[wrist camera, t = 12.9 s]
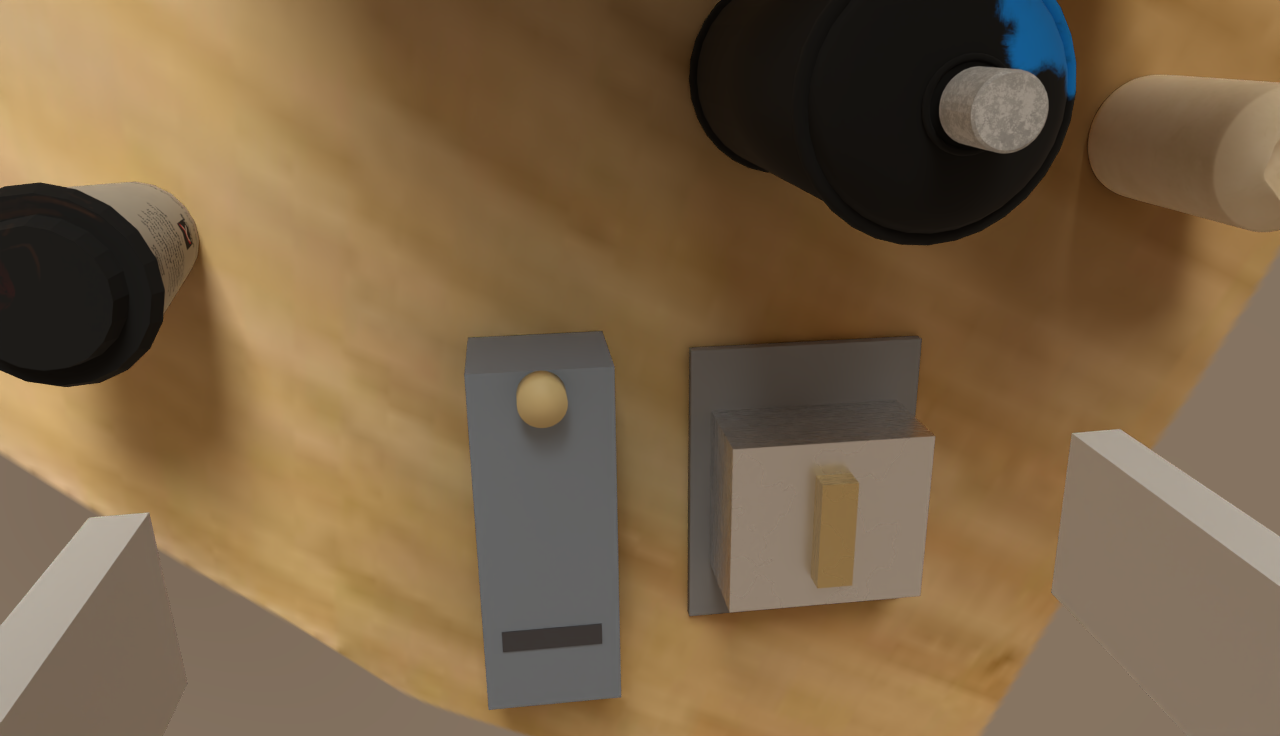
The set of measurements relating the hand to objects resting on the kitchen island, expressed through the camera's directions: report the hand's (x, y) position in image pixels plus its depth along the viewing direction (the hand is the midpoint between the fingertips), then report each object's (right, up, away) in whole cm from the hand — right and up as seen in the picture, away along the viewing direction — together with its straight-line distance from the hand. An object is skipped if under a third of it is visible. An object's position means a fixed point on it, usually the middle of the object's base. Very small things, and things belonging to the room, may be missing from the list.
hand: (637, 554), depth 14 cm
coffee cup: (-21, +8, +27) cm, 35 cm away
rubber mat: (+8, -3, +34) cm, 35 cm away
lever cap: (+8, -3, +34) cm, 35 cm away
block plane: (-5, -3, +33) cm, 33 cm away
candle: (+23, +13, +31) cm, 41 cm away
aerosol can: (+6, +15, +28) cm, 33 cm away
